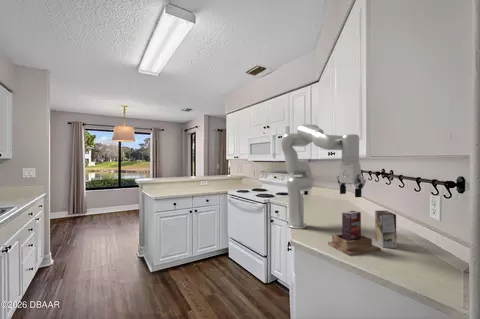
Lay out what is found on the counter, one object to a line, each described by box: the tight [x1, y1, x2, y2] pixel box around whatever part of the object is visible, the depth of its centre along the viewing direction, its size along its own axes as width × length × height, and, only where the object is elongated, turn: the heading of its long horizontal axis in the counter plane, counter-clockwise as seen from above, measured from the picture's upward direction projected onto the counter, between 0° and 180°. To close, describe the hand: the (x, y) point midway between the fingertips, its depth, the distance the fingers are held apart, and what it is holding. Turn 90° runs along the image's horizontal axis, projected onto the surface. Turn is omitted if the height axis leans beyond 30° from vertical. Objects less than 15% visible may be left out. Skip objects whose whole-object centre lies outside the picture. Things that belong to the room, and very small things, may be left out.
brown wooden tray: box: [327, 233, 381, 257], centre depth 109 cm, size 14×18×5 cm
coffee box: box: [374, 210, 398, 249], centre depth 112 cm, size 9×6×16 cm
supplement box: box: [341, 210, 362, 241], centre depth 109 cm, size 9×5×16 cm, turn 122°
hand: (350, 195), depth 109 cm, fingers open, 9 cm apart
